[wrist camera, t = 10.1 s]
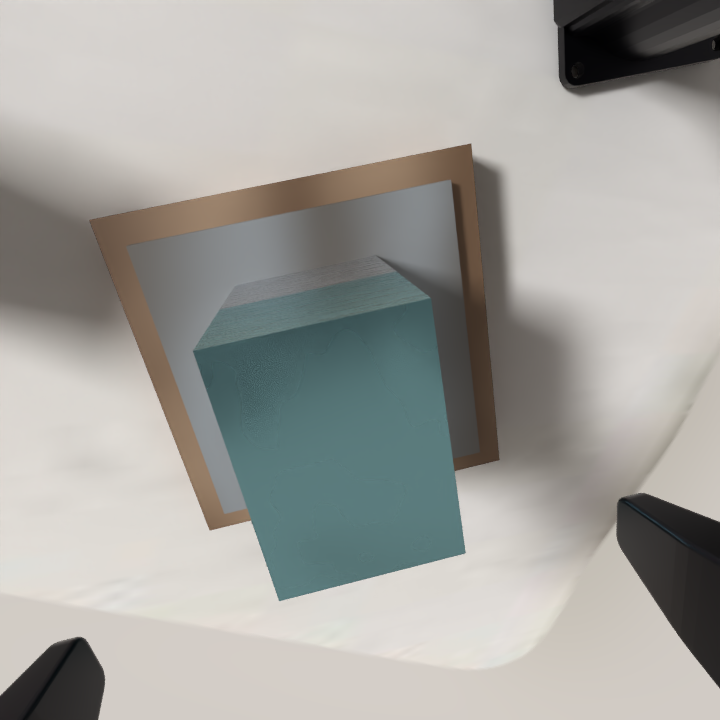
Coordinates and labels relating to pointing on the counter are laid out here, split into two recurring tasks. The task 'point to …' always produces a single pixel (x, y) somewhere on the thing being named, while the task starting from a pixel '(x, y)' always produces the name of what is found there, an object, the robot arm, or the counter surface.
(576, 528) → the counter surface
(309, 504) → the teal and white box
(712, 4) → the robot arm
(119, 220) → the square wooden frame
